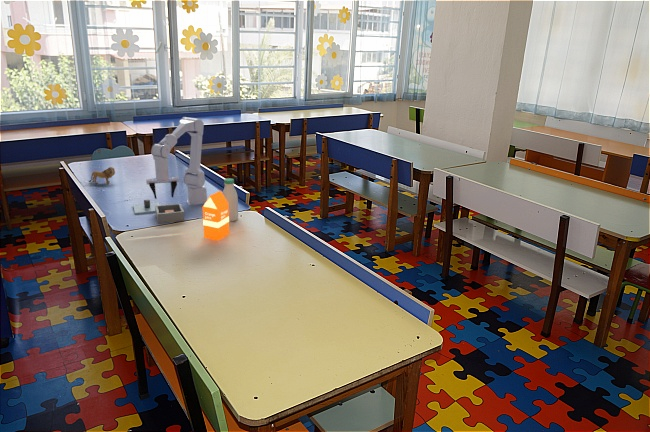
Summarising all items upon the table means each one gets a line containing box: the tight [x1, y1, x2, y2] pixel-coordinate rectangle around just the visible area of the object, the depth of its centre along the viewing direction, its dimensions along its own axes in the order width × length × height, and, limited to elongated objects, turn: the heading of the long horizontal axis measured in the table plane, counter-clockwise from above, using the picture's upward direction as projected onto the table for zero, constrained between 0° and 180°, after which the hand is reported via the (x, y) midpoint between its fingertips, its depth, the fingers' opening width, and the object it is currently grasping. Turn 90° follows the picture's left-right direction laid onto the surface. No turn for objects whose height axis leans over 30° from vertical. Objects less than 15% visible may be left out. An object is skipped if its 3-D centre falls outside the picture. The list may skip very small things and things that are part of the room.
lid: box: [132, 199, 161, 215], centre depth 248 cm, size 13×13×5 cm
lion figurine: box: [88, 166, 116, 185], centre depth 285 cm, size 15×5×9 cm, turn 103°
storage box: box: [155, 203, 186, 224], centre depth 239 cm, size 12×12×5 cm
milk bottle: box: [221, 177, 239, 223], centre depth 238 cm, size 8×8×20 cm
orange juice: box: [202, 189, 230, 242], centre depth 219 cm, size 8×9×20 cm
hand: (164, 197), depth 238 cm, fingers open, 7 cm apart
